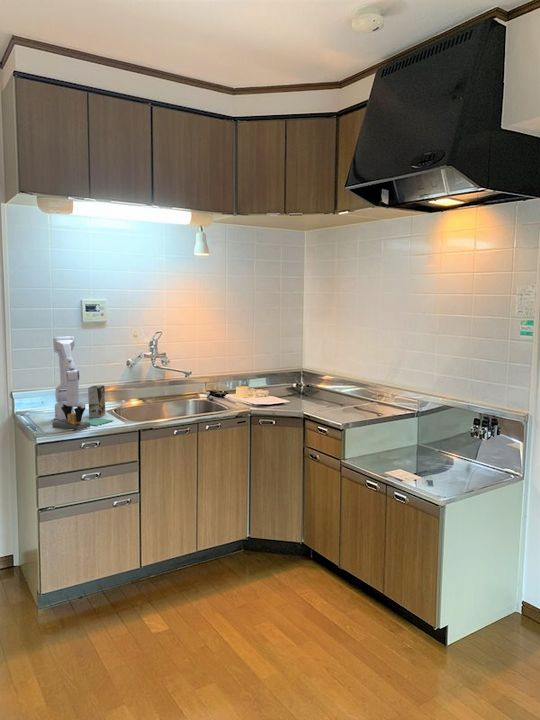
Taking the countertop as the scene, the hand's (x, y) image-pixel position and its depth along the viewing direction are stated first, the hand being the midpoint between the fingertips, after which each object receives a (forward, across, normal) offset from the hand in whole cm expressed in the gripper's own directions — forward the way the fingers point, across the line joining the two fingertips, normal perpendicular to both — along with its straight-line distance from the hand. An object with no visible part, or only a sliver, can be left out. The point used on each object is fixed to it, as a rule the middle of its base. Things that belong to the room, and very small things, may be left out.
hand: (73, 420), depth 272 cm
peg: (+3, 0, 0) cm, 3 cm away
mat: (+3, +2, +13) cm, 14 cm away
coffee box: (+4, -9, +25) cm, 27 cm away
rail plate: (+3, -2, 0) cm, 4 cm away
